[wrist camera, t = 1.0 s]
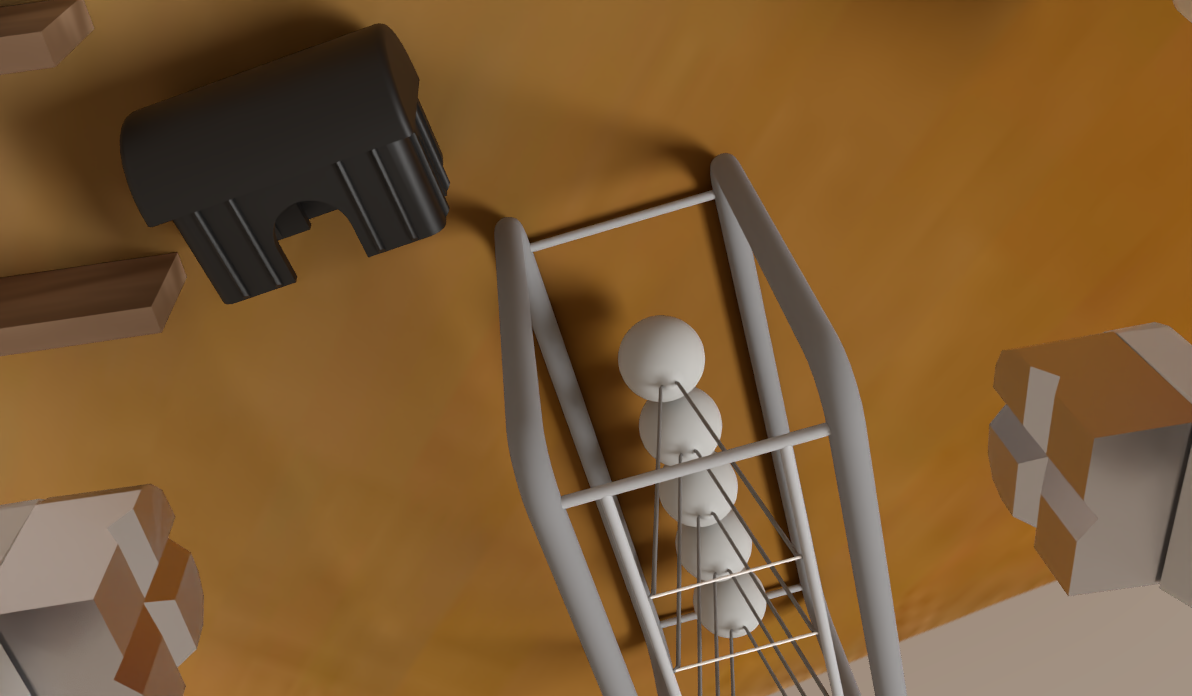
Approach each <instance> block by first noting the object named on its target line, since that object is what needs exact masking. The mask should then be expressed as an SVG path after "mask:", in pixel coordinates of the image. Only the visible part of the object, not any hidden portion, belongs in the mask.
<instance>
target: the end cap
mask: <svg viewBox="0 0 1192 696" xmlns="http://www.w3.org/2000/svg"><path fill="white" fill-rule="evenodd" d="M418 88H419V77H418V75H417V73H416V71H415V69H414V66H413V64H412V62H411V60H410V58H409V56H408V54H407V52H406V50H405V49H404V47H403V45H402V43H401V42H400V40H399V39H398V37H397V36H396V34H395V33H394V32H393V31H392V30H391V29H390V28H389V27H388V26H387V25H385V24H374V25H372V26H369V27H366V28H363V29H361V30H358V31H355V32H352V33H349V34H347V35H344V36H341V37H338V38H336V39H333V40H330V41H327V42H325V43H322V44H319V45H316V46H313V47H311V48H308V49H305V50H302V51H300V52H297V53H294V54H291V55H289V56H286V57H283V58H280V59H277V60H275V61H272V62H269V63H266V64H264V65H261V66H258V67H255V68H253V69H250V70H247V71H244V72H242V73H239V74H236V75H233V76H230V77H228V78H225V79H222V80H219V81H217V82H214V83H211V84H208V85H206V86H203V87H200V88H197V89H194V90H192V91H189V92H186V93H183V94H181V95H178V96H175V97H172V98H170V99H167V100H164V101H161V102H158V103H156V104H153V105H150V106H147V107H145V108H142V109H139V110H136V111H134V112H132V113H131V114H130V115H129V116H127V118H126V119H125V121H124V123H123V125H122V128H121V134H120V153H121V159H122V165H123V169H124V173H125V176H126V180H127V183H128V186H129V188H130V191H131V194H132V196H133V199H134V201H135V203H136V205H137V207H138V209H139V211H140V213H141V215H142V217H143V218H144V220H145V222H146V224H147V225H148V227H154V226H157V225H159V224H162V223H165V222H168V221H171V220H173V222H174V223H175V225H176V226H177V228H178V230H179V231H180V233H181V235H182V236H183V238H184V239H185V241H186V243H187V244H188V246H189V247H190V249H191V251H192V252H193V254H194V255H195V257H196V259H197V260H198V262H199V264H200V265H201V267H202V268H203V270H204V272H205V273H206V275H207V276H208V278H209V280H210V281H211V283H212V285H213V286H214V288H215V289H216V291H217V293H218V294H219V296H220V297H221V299H222V301H223V302H224V303H225V304H233V303H237V302H240V301H242V300H245V299H248V298H251V297H254V296H257V295H260V294H263V293H266V292H269V291H272V290H275V289H277V288H280V287H283V286H286V285H289V284H292V283H295V282H296V280H297V275H296V273H295V271H294V270H293V268H292V266H291V264H290V262H289V261H288V259H287V257H286V255H285V254H284V252H283V250H282V248H281V246H280V245H279V242H278V240H281V239H284V238H287V237H289V236H292V235H295V234H298V233H301V232H304V231H307V230H310V228H311V223H310V221H309V219H311V218H314V217H316V216H319V215H322V214H325V213H328V212H331V211H334V210H337V209H338V210H340V211H341V212H342V213H343V214H344V215H345V216H346V217H347V218H348V220H349V221H350V223H351V224H352V226H353V228H354V230H355V232H356V234H357V236H358V238H359V240H360V242H361V244H362V246H363V248H364V250H365V252H366V254H367V256H368V257H371V256H374V255H377V254H380V253H383V252H386V251H388V250H391V249H394V248H397V247H400V246H403V245H406V244H409V243H412V242H415V241H418V240H421V239H424V238H426V237H429V236H432V235H434V234H436V233H438V232H439V231H441V230H442V229H443V228H444V227H445V225H446V216H447V214H448V212H449V205H448V203H447V201H446V199H445V196H447V190H448V188H449V185H450V181H449V179H448V177H447V175H446V172H445V170H444V168H443V156H442V152H441V150H440V148H439V145H438V143H437V141H436V138H435V136H434V134H433V132H432V129H431V127H430V125H429V122H428V120H427V118H426V115H425V113H424V111H423V108H422V106H421V104H420V102H419V99H418Z"/></svg>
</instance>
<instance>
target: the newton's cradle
mask: <svg viewBox="0 0 1192 696" xmlns="http://www.w3.org/2000/svg"><path fill="white" fill-rule="evenodd" d="M710 176H711V183H712V188H713V190H711V191H708V192H704V193H701V194H697V195H694V196H690V197H687V198H684V199H680V200H677V201H673V202H670V203H666V204H663V205H660V206H656V207H653V208H649V209H646V210H643V211H639V212H636V213H632V214H629V215H625V216H622V217H619V218H615V219H612V220H608V221H605V222H601V223H598V224H595V225H591V226H588V227H584V228H581V229H578V230H574V231H571V232H567V233H564V234H560V235H557V236H554V237H550V238H547V239H543V240H540V241H536V242H533V243H529V240H528V237H527V235H526V233H525V230H524V228H523V226H522V225H521V223H520V222H519V221H518V220H517V219H515V218H512V217H506V218H502V219H501V220H499V221H498V222H497V224H496V226H495V233H494V237H495V253H496V269H497V285H498V302H499V318H500V334H501V350H502V366H503V383H504V399H505V415H506V430H507V439H508V446H509V451H510V456H511V461H512V465H513V469H514V473H515V477H516V481H517V484H518V488H519V491H520V494H521V497H522V500H523V503H524V506H525V508H526V511H527V514H528V516H529V519H530V521H531V524H532V526H533V528H534V531H535V533H536V536H537V538H538V540H539V543H540V545H541V548H542V550H543V552H544V555H545V557H546V560H547V562H548V564H549V567H550V569H551V572H552V574H553V577H554V579H555V581H556V584H557V586H558V589H559V591H560V593H561V596H562V598H563V601H564V603H565V605H566V608H567V610H568V613H569V615H570V617H571V620H572V622H573V625H574V627H575V629H576V632H577V634H578V637H579V639H580V642H581V644H582V646H583V649H584V651H585V654H586V656H587V658H588V661H589V663H590V666H591V668H592V670H593V673H594V675H595V678H596V680H597V682H598V685H599V687H600V690H601V692H602V694H603V696H637V693H636V690H635V688H634V685H633V683H632V680H631V677H630V675H629V672H628V670H627V667H626V664H625V662H624V659H623V657H622V654H621V651H620V649H619V646H618V644H617V641H616V638H615V636H614V633H613V631H612V628H611V625H610V623H609V620H608V618H607V615H606V613H605V610H604V607H603V605H602V602H601V600H600V597H599V594H598V592H597V589H596V587H595V584H594V581H593V579H592V576H591V574H590V571H589V568H588V566H587V563H586V561H585V558H584V555H583V553H582V550H581V548H580V545H579V542H578V540H577V537H576V535H575V532H574V529H573V527H572V524H571V522H570V519H569V517H568V514H567V511H566V508H570V507H573V506H577V505H580V504H584V503H588V502H591V501H596V504H597V507H598V510H599V512H600V515H601V518H602V521H603V523H604V526H605V529H606V532H607V535H608V537H609V540H610V543H611V546H612V548H613V551H614V554H615V557H616V559H617V562H618V565H619V568H620V571H621V573H622V576H623V579H624V582H625V584H626V587H627V590H628V593H629V595H630V598H631V601H632V604H633V607H634V609H635V612H636V615H637V618H638V620H639V623H640V626H641V629H642V632H643V635H644V638H645V641H646V644H647V648H648V651H649V655H650V659H651V663H652V668H653V673H654V678H655V683H656V688H657V693H658V696H682V695H681V693H680V690H679V687H678V684H677V681H676V678H675V675H674V673H675V672H677V671H681V670H685V669H689V668H692V667H696V666H698V696H702V665H703V664H707V663H711V662H715V676H716V696H720V690H719V660H722V659H726V658H730V665H731V695H732V696H735V686H734V659H733V656H737V655H741V654H745V653H748V652H752V651H756V650H757V652H758V653H759V655H760V657H761V659H762V660H763V662H764V664H765V665H766V667H767V669H768V671H769V672H770V674H771V676H772V677H773V679H774V681H775V683H776V684H777V686H778V688H779V689H780V691H781V693H782V695H783V696H787V695H786V693H785V691H784V690H783V688H782V686H781V685H780V683H779V681H778V679H777V678H776V676H775V674H774V673H773V671H772V669H771V668H770V666H769V664H768V662H767V661H766V659H765V657H764V656H763V654H762V652H761V650H760V649H763V648H767V647H771V646H773V648H774V649H775V651H776V653H777V655H778V656H779V658H780V660H781V661H782V663H783V665H784V666H785V668H786V670H787V671H788V673H789V675H790V676H791V678H792V680H793V681H794V683H795V685H796V686H797V688H798V690H799V692H800V693H801V695H802V696H806V695H805V693H804V691H803V689H802V688H801V686H800V684H799V683H798V681H797V679H796V678H795V676H794V674H793V673H792V671H791V669H790V668H789V666H788V664H787V663H786V661H785V659H784V658H783V656H782V654H781V653H780V651H779V649H778V648H777V646H776V645H778V644H782V643H786V642H789V641H791V643H792V644H793V646H794V647H795V649H796V651H797V652H798V654H799V656H800V657H801V659H802V660H803V662H804V664H805V665H806V667H807V668H808V670H809V672H810V673H811V675H812V677H813V678H814V680H815V681H816V683H817V685H818V686H819V688H820V690H821V691H822V693H823V694H824V696H829V695H828V693H827V691H826V690H825V688H824V686H823V685H822V683H821V682H820V680H819V679H818V677H817V675H816V674H815V672H814V670H813V669H812V667H811V666H810V664H809V662H808V661H807V659H806V658H805V656H804V654H803V653H802V651H801V650H800V648H799V646H798V645H797V643H796V642H795V640H797V639H801V638H804V637H808V636H812V635H816V636H817V639H818V642H819V645H820V647H821V650H822V653H823V655H824V658H825V663H826V668H827V672H828V677H829V681H830V686H831V691H832V695H833V696H861V693H860V691H859V688H858V686H857V683H856V681H855V678H854V676H853V673H852V671H851V668H850V665H849V663H848V660H847V658H846V655H845V653H844V650H843V648H842V645H841V642H840V640H839V637H838V635H837V632H836V630H835V627H834V625H833V622H832V619H831V616H830V613H829V610H828V607H827V604H826V601H825V597H824V594H823V590H822V586H821V581H820V577H819V572H818V567H817V562H816V557H815V552H814V547H813V543H812V538H811V533H810V528H809V523H808V518H807V514H806V509H805V504H804V499H803V494H802V489H801V484H800V480H799V475H798V470H797V465H796V460H795V455H794V451H793V445H797V444H800V443H804V442H807V441H811V440H815V439H818V438H822V437H825V436H829V441H830V446H831V452H832V457H833V463H834V468H835V474H836V480H837V485H838V491H839V496H840V502H841V507H842V513H843V519H844V524H845V530H846V535H847V541H848V546H849V552H850V558H851V563H852V569H853V574H854V580H855V586H856V591H857V597H858V602H859V608H860V613H861V619H862V625H863V630H864V636H865V641H866V647H867V652H868V658H869V663H870V669H871V674H872V680H873V686H874V691H875V696H907V693H906V686H905V680H904V673H903V666H902V660H901V653H900V647H899V640H898V633H897V627H896V620H895V614H894V607H893V600H892V594H891V587H890V581H889V574H888V567H887V561H886V554H885V548H884V541H883V535H882V528H881V521H880V515H879V508H878V502H877V495H876V488H875V482H874V475H873V469H872V462H871V456H870V449H869V442H868V436H867V429H866V423H865V417H864V412H863V407H862V402H861V399H860V395H859V391H858V387H857V384H856V381H855V378H854V374H853V371H852V368H851V365H850V363H849V360H848V358H847V355H846V353H845V350H844V348H843V346H842V344H841V342H840V340H839V338H838V336H837V334H836V332H835V330H834V329H833V327H832V325H831V323H830V321H829V320H828V318H827V316H826V314H825V313H824V311H823V309H822V307H821V306H820V304H819V302H818V300H817V299H816V297H815V295H814V293H813V292H812V290H811V288H810V286H809V285H808V283H807V281H806V279H805V278H804V276H803V274H802V272H801V270H800V269H799V267H798V265H797V263H796V262H795V260H794V258H793V256H792V255H791V253H790V251H789V249H788V248H787V246H786V244H785V242H784V241H783V239H782V237H781V235H780V234H779V232H778V230H777V228H776V227H775V225H774V223H773V221H772V219H771V218H770V216H769V214H768V212H767V211H766V209H765V207H764V205H763V204H762V202H761V200H760V198H759V197H758V195H757V193H756V191H755V190H754V188H753V186H752V184H751V183H750V181H749V179H748V177H747V175H746V174H745V172H744V170H743V168H742V167H741V165H740V163H739V162H738V160H737V159H736V158H735V157H734V156H733V155H731V154H728V153H723V154H720V155H718V156H717V157H715V158H714V159H713V160H712V162H711V165H710ZM713 199H715V202H716V206H717V211H718V215H719V220H720V224H721V229H722V233H723V238H724V242H725V247H726V251H727V256H728V260H729V265H730V269H731V274H732V278H733V283H734V287H735V292H736V296H737V301H738V305H739V310H740V314H741V319H742V323H743V328H744V332H745V337H746V341H747V346H748V350H749V355H750V359H751V364H752V368H753V373H754V377H755V382H756V386H757V391H758V395H759V400H760V404H761V409H762V413H763V418H764V422H765V427H766V431H767V436H768V439H765V440H761V441H758V442H754V443H751V444H747V445H744V446H740V447H736V448H733V449H729V450H726V449H725V447H724V446H723V444H722V443H721V441H720V437H721V431H722V421H721V415H720V412H719V410H718V407H717V406H716V404H715V402H714V401H713V400H712V398H711V397H709V396H708V395H707V394H706V393H705V392H704V391H702V390H700V389H698V388H696V387H695V386H696V384H697V383H698V381H699V380H700V378H701V376H702V373H703V370H704V364H705V354H704V347H703V345H702V342H701V340H700V338H699V336H698V335H697V333H696V332H695V330H694V329H692V328H691V327H690V326H689V325H688V324H687V323H685V322H684V321H682V320H680V319H677V318H674V317H671V316H664V315H661V316H652V317H648V318H646V319H643V320H641V321H639V322H638V323H636V324H635V325H634V326H633V327H632V328H631V329H630V330H629V331H628V332H627V333H626V334H625V336H624V338H623V340H622V342H621V345H620V349H619V352H618V364H619V370H620V373H621V375H622V377H623V379H624V382H625V383H626V384H627V386H628V387H629V388H630V389H631V390H632V391H633V392H634V393H636V394H637V395H639V396H640V397H642V398H644V399H647V400H648V401H647V402H646V403H645V405H644V407H643V409H642V412H641V415H640V419H639V432H640V437H641V440H642V442H643V444H644V446H645V448H646V449H647V451H648V452H649V453H650V454H651V455H652V456H653V457H654V458H655V459H656V470H654V471H650V472H647V473H643V474H639V475H636V476H632V477H629V478H625V479H621V480H618V481H614V482H612V481H611V478H610V475H609V472H608V469H607V467H606V464H605V461H604V458H603V455H602V452H601V449H600V446H599V443H598V440H597V437H596V435H595V432H594V429H593V426H592V423H591V420H590V417H589V414H588V411H587V408H586V405H585V403H584V400H583V397H582V394H581V391H580V388H579V385H578V382H577V379H576V376H575V373H574V371H573V368H572V365H571V362H570V359H569V356H568V353H567V350H566V347H565V344H564V342H563V339H562V336H561V333H560V330H559V327H558V324H557V321H556V318H555V315H554V312H553V310H552V307H551V304H550V301H549V298H548V295H547V292H546V289H545V286H544V283H543V280H542V278H541V275H540V272H539V269H538V266H537V263H536V260H535V257H534V254H533V252H535V251H538V250H541V249H545V248H548V247H552V246H555V245H558V244H562V243H565V242H569V241H572V240H576V239H579V238H582V237H586V236H589V235H593V234H596V233H600V232H603V231H606V230H610V229H613V228H617V227H620V226H624V225H627V224H630V223H634V222H637V221H641V220H644V219H648V218H651V217H654V216H658V215H661V214H665V213H668V212H672V211H675V210H678V209H682V208H685V207H689V206H692V205H696V204H699V203H702V202H706V201H709V200H713ZM752 251H753V252H752ZM753 253H754V255H755V257H756V259H757V261H758V263H759V265H760V267H761V269H762V271H763V273H764V275H765V277H766V279H767V281H768V283H769V285H770V287H771V289H772V291H773V293H774V295H775V297H776V299H777V301H778V302H779V304H780V306H781V308H782V310H783V312H784V314H785V316H786V318H787V320H788V322H789V324H790V326H791V328H792V330H793V332H794V334H795V336H796V338H797V340H798V342H799V344H800V346H801V348H802V350H803V352H804V354H805V357H806V359H807V361H808V363H809V366H810V369H811V371H812V374H813V377H814V380H815V383H816V386H817V389H818V392H819V396H820V399H821V403H822V407H823V411H824V415H825V420H826V423H823V424H819V425H815V426H812V427H808V428H805V429H801V430H797V431H794V432H790V431H789V426H788V421H787V417H786V412H785V407H784V402H783V397H782V392H781V388H780V383H779V378H778V373H777V368H776V363H775V359H774V354H773V349H772V344H771V339H770V334H769V329H768V325H767V320H766V315H765V310H764V305H763V300H762V296H761V291H760V286H759V281H758V276H757V271H756V266H755V262H754V257H753ZM532 327H533V330H534V332H535V335H536V338H537V341H538V343H539V346H540V349H541V352H542V355H543V357H544V360H545V363H546V366H547V368H548V371H549V374H550V377H551V379H552V382H553V385H554V388H555V391H556V393H557V396H558V399H559V402H560V404H561V407H562V410H563V413H564V415H565V418H566V421H567V424H568V427H569V429H570V432H571V435H572V438H573V440H574V443H575V446H576V449H577V451H578V454H579V457H580V460H581V463H582V465H583V468H584V471H585V474H586V476H587V479H588V482H589V485H590V487H591V488H589V489H586V490H582V491H578V492H575V493H571V494H568V495H564V496H561V495H560V492H559V490H558V487H557V484H556V480H555V477H554V474H553V470H552V467H551V463H550V459H549V455H548V451H547V446H546V441H545V436H544V430H543V423H542V414H541V405H540V396H539V386H538V377H537V368H536V359H535V350H534V341H533V332H532ZM717 445H718V446H719V447H720V448H721V450H722V452H718V453H717V452H715V451H714V450H715V448H716V447H717ZM768 452H771V454H772V458H773V463H774V467H775V471H776V476H777V480H778V485H779V489H780V494H781V498H782V503H783V507H784V512H785V516H786V521H787V525H788V530H789V534H790V539H791V542H790V541H789V539H788V538H787V536H786V535H785V534H784V532H783V531H782V529H781V528H780V526H779V525H778V523H777V522H776V521H775V519H774V518H773V516H772V515H771V513H770V512H769V510H768V509H767V508H766V506H765V505H764V503H763V502H762V500H761V499H760V498H759V496H758V495H757V493H756V492H755V490H754V489H753V487H752V486H751V485H750V483H749V482H748V480H747V479H746V477H745V476H744V474H743V473H742V472H741V470H740V469H739V467H738V466H737V464H736V463H735V461H739V460H743V459H746V458H750V457H753V456H757V455H761V454H764V453H768ZM660 462H661V463H663V464H665V465H664V467H663V468H661V469H660ZM729 463H731V465H732V466H733V467H734V469H735V470H736V472H737V473H738V475H739V476H740V478H741V479H742V481H743V482H744V483H745V485H746V486H747V488H748V489H749V491H750V492H751V494H752V495H753V497H754V498H755V499H756V501H757V502H758V504H759V505H760V507H761V508H762V510H763V511H764V513H765V514H766V515H767V517H768V518H769V520H770V521H771V523H772V524H773V526H774V527H775V529H776V530H777V531H778V533H779V534H780V536H781V537H782V539H783V540H784V542H785V543H786V545H787V546H788V547H789V549H790V550H791V552H792V553H793V555H794V557H792V558H789V559H785V560H781V561H778V562H774V563H771V561H770V560H769V558H768V556H767V555H766V553H765V552H764V550H763V549H762V547H761V546H760V544H759V543H758V541H757V540H756V538H755V537H754V535H753V534H752V532H751V530H750V529H749V527H748V526H747V524H746V523H745V521H744V520H743V518H742V517H741V515H740V514H739V512H738V511H737V509H736V508H735V506H734V503H735V500H736V497H737V489H738V486H737V479H736V475H735V472H734V470H733V468H732V466H731V465H730V464H729ZM652 484H655V505H654V531H653V558H652V585H651V594H650V592H649V589H648V586H647V583H646V580H645V577H644V574H643V571H642V568H641V565H640V562H639V560H638V557H637V554H636V551H635V548H634V545H633V542H632V539H631V536H630V533H629V530H628V528H627V525H626V522H625V519H624V516H623V513H622V510H621V507H620V504H619V501H618V498H617V496H616V494H620V493H624V492H627V491H631V490H634V489H638V488H642V487H645V486H649V485H652ZM659 498H660V500H661V503H662V505H663V507H664V509H665V510H666V511H667V512H668V514H669V515H670V516H671V517H672V518H674V519H675V520H676V521H678V530H677V534H676V541H675V544H676V551H677V589H675V590H671V591H667V592H664V593H660V594H656V573H657V543H658V513H659ZM731 509H732V510H731ZM751 539H752V540H751ZM752 541H753V542H754V544H755V545H756V547H757V549H758V550H759V552H760V553H761V555H762V556H763V558H764V559H765V561H766V562H767V565H763V566H759V567H756V568H752V569H750V568H749V566H748V565H747V562H748V560H749V557H750V555H751V549H752ZM791 543H792V544H791ZM793 560H795V561H796V566H797V570H798V575H799V579H800V584H796V585H792V586H788V587H787V586H786V584H785V582H784V581H783V579H782V578H781V576H780V575H779V573H778V572H777V570H776V569H775V567H774V565H778V564H781V563H785V562H789V561H793ZM681 564H682V565H683V566H684V568H685V569H686V570H687V571H688V572H689V573H690V574H692V575H693V576H695V577H696V578H697V584H693V585H689V586H686V587H682V588H681ZM767 567H770V569H771V570H772V572H773V573H774V575H775V576H776V578H777V579H778V581H779V582H780V584H781V586H782V587H783V588H781V589H777V590H774V591H770V592H766V593H765V590H764V587H763V585H762V583H761V581H760V580H759V578H758V577H757V576H756V575H755V574H754V573H753V572H752V571H756V570H759V569H763V568H767ZM693 587H695V589H694V595H693V604H694V610H695V612H692V613H689V614H685V615H681V591H682V590H686V589H689V588H693ZM801 590H802V592H803V596H804V600H805V603H806V607H807V610H808V613H809V616H810V619H811V622H810V621H809V619H808V618H807V616H806V615H805V613H804V612H803V610H802V608H801V607H800V605H799V604H798V602H797V601H796V599H795V598H794V596H793V595H792V593H794V592H798V591H801ZM675 592H677V617H674V618H670V619H666V620H663V621H659V618H658V615H657V612H656V609H655V606H654V603H653V600H652V599H653V598H656V597H660V596H664V595H667V594H671V593H675ZM655 594H656V595H655ZM786 594H787V595H788V596H789V598H790V599H791V601H792V603H793V604H794V606H795V607H796V609H797V610H798V612H799V613H800V615H801V616H802V618H803V620H804V621H805V623H806V624H807V626H808V627H809V629H810V630H811V631H812V633H808V634H805V635H801V636H797V637H792V635H791V634H790V632H789V630H788V629H787V627H786V626H785V624H784V622H783V621H782V619H781V617H780V616H779V614H778V613H777V611H776V609H775V608H774V606H773V605H772V603H771V601H770V600H769V599H772V598H775V597H779V596H783V595H786ZM766 602H767V604H768V605H769V607H770V609H771V610H772V612H773V613H774V615H775V617H776V618H777V620H778V622H779V623H780V625H781V626H782V628H783V630H784V631H785V633H786V635H787V636H788V638H789V639H786V640H782V641H778V642H775V643H774V641H773V639H772V638H771V636H770V634H769V633H768V631H767V629H766V628H765V626H764V624H763V623H762V621H761V620H762V618H763V616H764V613H765V610H766ZM694 619H697V630H698V663H696V664H693V665H689V666H685V667H681V668H680V663H681V623H683V622H686V621H690V620H694ZM701 623H702V625H703V626H704V627H705V628H706V629H708V630H709V631H710V632H712V633H713V634H714V635H715V659H711V660H708V661H704V662H702V646H701ZM811 623H812V624H811ZM675 624H677V630H676V667H675V668H674V669H673V667H672V663H671V658H670V654H669V650H668V647H667V643H666V640H665V636H664V633H663V630H662V628H664V627H668V626H672V625H675ZM758 624H760V626H761V628H762V629H763V631H764V633H765V634H766V636H767V638H768V639H769V641H770V643H771V644H767V645H764V646H760V647H758V645H757V644H756V642H755V640H754V639H753V637H752V635H751V633H750V632H751V631H753V630H754V629H755V628H756V627H757V626H758ZM746 634H747V635H748V636H749V638H750V640H751V641H752V643H753V645H754V647H755V648H752V649H749V650H745V651H741V652H737V653H734V654H733V638H736V637H741V636H744V635H746ZM718 636H721V637H725V638H730V655H726V656H722V657H719V654H718Z"/></svg>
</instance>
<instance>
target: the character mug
mask: <svg viewBox="0 0 1192 696" xmlns="http://www.w3.org/2000/svg"><path fill="white" fill-rule="evenodd" d="M1173 3H1174V6H1175V8H1176V9H1177V10H1178V11H1179V12H1180V13H1181V14H1182V15H1183V16H1185V17H1186V18H1187V19H1188V20H1189V21H1190V22H1191V23H1192V0H1173Z"/></svg>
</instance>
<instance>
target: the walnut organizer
mask: <svg viewBox="0 0 1192 696" xmlns="http://www.w3.org/2000/svg"><path fill="white" fill-rule="evenodd" d="M93 30H94V26H93V24H92V21H91V18H90V16H89V13H88V10H87V8H86V5H85V2H84V0H50V1H42V2H35V3H28V4H20V5H13V6H5V7H0V75H1V74H9V73H16V72H23V71H31V70H38V69H45V68H52V67H56V66H57V65H58V64H59V63H60V62H61V61H62V60H63V59H64V58H65V57H66V56H67V55H68V54H69V53H70V52H71V51H72V50H73V49H74V48H75V47H76V46H77V45H78V44H79V43H80V42H81V41H82V40H83V39H84V38H85V37H87V36H88V35H89V34H90V33H91V32H92V31H93ZM186 278H187V276H186V274H185V271H184V268H183V266H182V263H181V260H180V258H179V255H178V253H171V254H164V255H157V256H150V257H143V258H136V259H129V260H122V261H115V262H108V263H101V264H94V265H87V266H80V267H73V268H66V269H60V270H53V271H46V272H39V273H32V274H25V275H18V276H11V277H4V278H0V356H5V355H12V354H19V353H26V352H32V351H39V350H46V349H53V348H60V347H67V346H73V345H80V344H87V343H94V342H101V341H108V340H114V339H121V338H128V337H135V336H142V335H149V334H155V333H162V331H163V329H164V326H165V324H166V322H167V320H168V318H169V315H170V313H171V311H172V309H173V306H174V304H175V302H176V300H177V298H178V295H179V293H180V291H181V289H182V286H183V284H184V282H185V280H186Z"/></svg>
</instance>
